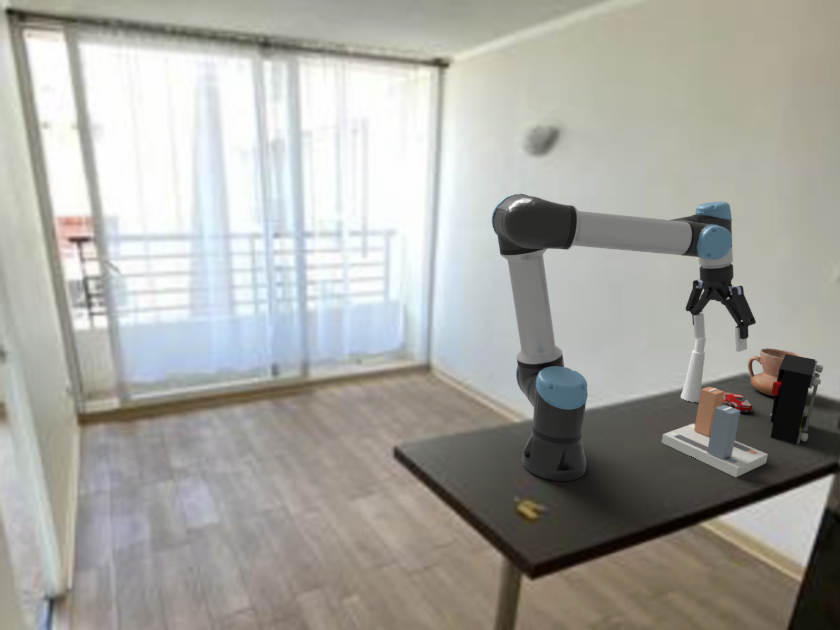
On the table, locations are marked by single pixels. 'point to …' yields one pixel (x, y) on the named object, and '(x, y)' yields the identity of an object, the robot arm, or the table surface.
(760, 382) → the ceramic jug
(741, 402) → the race car
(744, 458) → the switch plate
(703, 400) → the terracotta switch
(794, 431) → the electrical component
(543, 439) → the robot arm
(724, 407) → the slate switch
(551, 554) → the table surface
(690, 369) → the cosmetic bottle
